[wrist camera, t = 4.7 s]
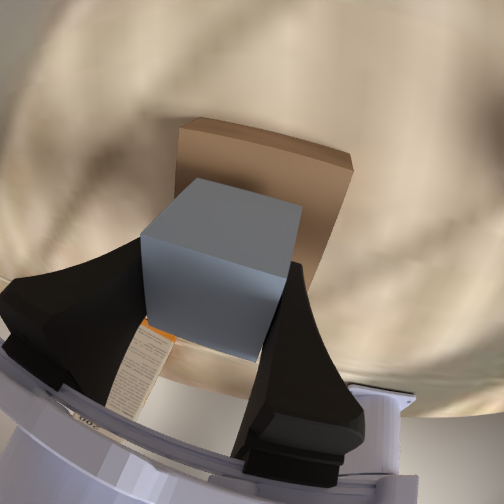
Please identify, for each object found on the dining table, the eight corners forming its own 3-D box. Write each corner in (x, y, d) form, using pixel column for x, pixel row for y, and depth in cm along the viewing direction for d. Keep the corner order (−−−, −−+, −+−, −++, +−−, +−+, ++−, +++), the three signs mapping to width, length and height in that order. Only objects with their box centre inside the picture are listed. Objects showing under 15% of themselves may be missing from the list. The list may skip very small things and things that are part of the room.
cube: (276, 286, 14) (255, 362, 11) (189, 260, 15) (148, 325, 11) (302, 206, 12) (286, 278, 8) (196, 177, 12) (140, 233, 9)
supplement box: (134, 310, 26) (63, 425, 16) (179, 335, 27) (118, 458, 16) (126, 347, 31) (74, 438, 21) (162, 367, 32) (116, 463, 21)
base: (308, 268, 19) (303, 300, 17) (192, 233, 20) (172, 260, 17) (349, 152, 14) (353, 171, 12) (203, 115, 15) (179, 127, 13)
